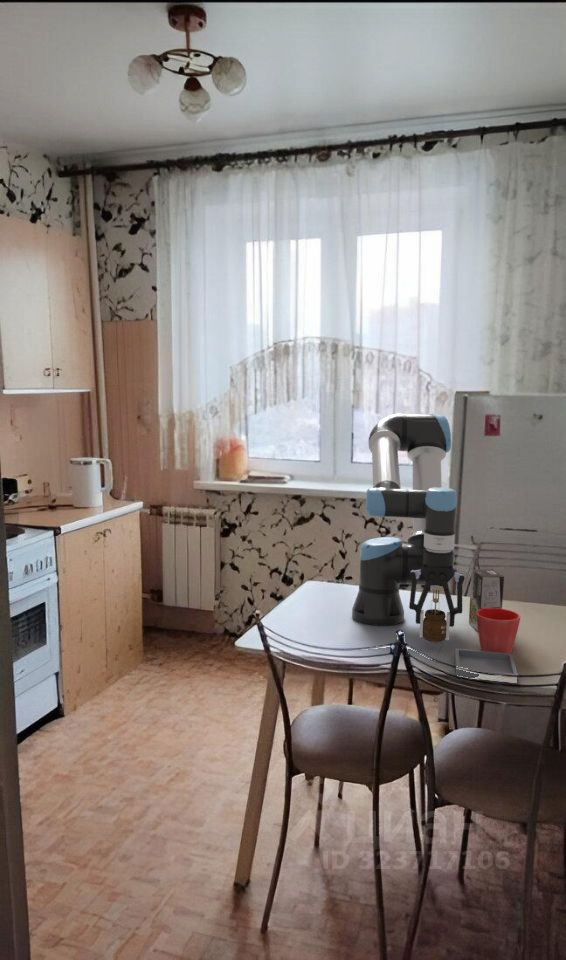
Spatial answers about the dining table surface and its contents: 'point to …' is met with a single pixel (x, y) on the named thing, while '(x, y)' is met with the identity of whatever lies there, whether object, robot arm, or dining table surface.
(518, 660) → the dining table surface
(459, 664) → the tray
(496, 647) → the flower pot
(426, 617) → the utensil holder
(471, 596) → the coffee box
